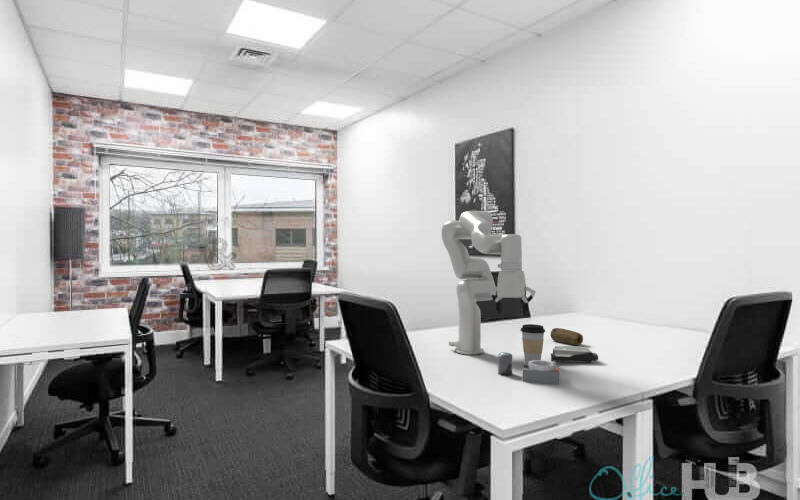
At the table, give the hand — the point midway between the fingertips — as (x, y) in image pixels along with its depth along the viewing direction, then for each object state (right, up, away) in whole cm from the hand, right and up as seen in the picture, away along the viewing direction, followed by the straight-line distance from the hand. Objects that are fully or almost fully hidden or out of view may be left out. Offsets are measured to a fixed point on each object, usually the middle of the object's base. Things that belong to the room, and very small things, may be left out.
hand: (512, 313), depth 177 cm
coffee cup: (+10, -22, +10) cm, 26 cm away
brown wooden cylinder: (+37, -21, +49) cm, 65 cm away
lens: (-4, -21, -5) cm, 22 cm away
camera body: (+7, -22, -12) cm, 26 cm away
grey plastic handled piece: (+29, -22, +17) cm, 40 cm away
